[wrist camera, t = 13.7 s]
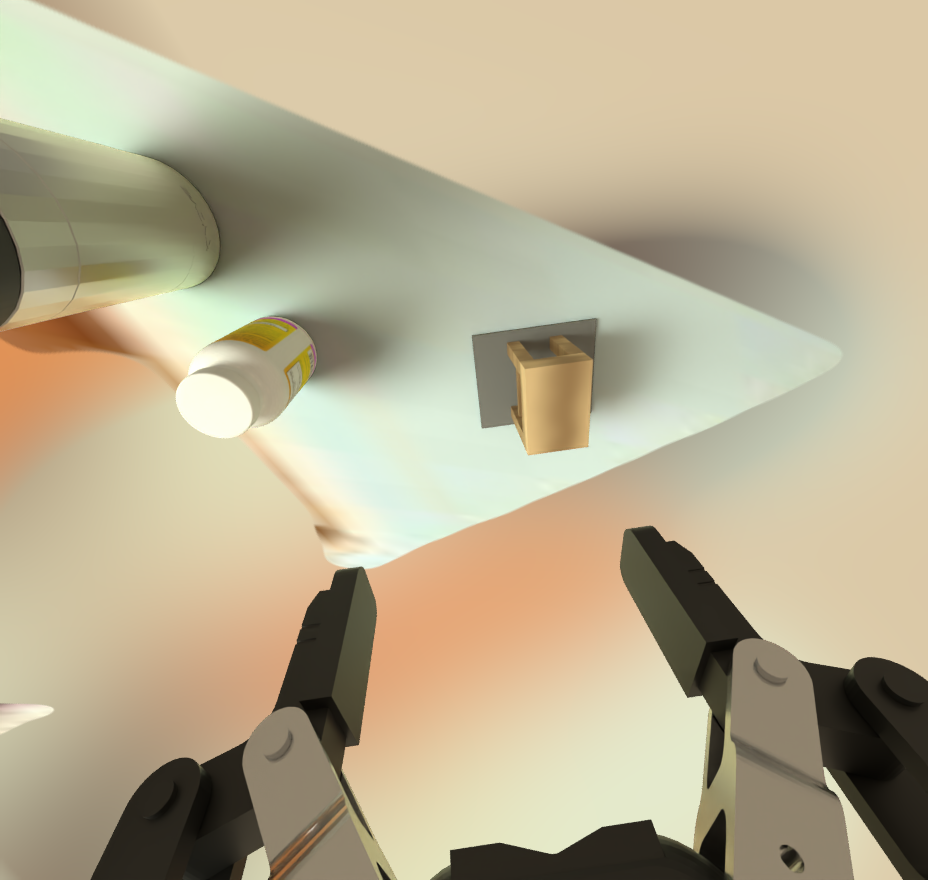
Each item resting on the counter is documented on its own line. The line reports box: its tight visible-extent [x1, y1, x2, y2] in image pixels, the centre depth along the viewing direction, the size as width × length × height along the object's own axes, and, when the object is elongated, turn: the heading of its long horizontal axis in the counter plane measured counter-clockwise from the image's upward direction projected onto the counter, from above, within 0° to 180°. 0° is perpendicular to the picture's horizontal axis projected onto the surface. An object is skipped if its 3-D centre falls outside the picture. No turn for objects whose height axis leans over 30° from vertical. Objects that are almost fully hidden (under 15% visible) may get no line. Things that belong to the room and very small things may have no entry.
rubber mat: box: [472, 319, 596, 428], centre depth 38 cm, size 12×10×1 cm
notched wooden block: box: [507, 335, 593, 455], centre depth 35 cm, size 5×8×8 cm
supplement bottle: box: [176, 316, 317, 438], centre depth 30 cm, size 7×7×13 cm
